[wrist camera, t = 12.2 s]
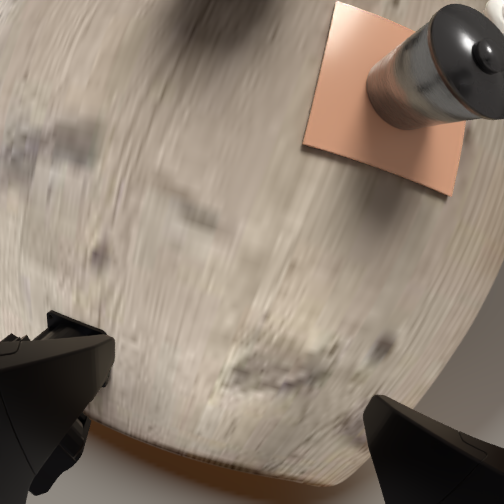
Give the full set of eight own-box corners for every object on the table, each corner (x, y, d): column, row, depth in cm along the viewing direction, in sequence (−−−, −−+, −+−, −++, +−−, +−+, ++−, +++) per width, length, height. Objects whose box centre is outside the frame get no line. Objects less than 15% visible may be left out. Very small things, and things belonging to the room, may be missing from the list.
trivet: (302, 144, 20) (303, 143, 19) (334, 4, 17) (336, 1, 16) (447, 195, 20) (451, 196, 19) (466, 64, 17) (470, 62, 16)
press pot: (371, 132, 19) (461, 110, 8) (357, 54, 17) (426, -16, 7) (439, 133, 18) (541, 125, 8) (426, 60, 17) (513, 16, 7)
